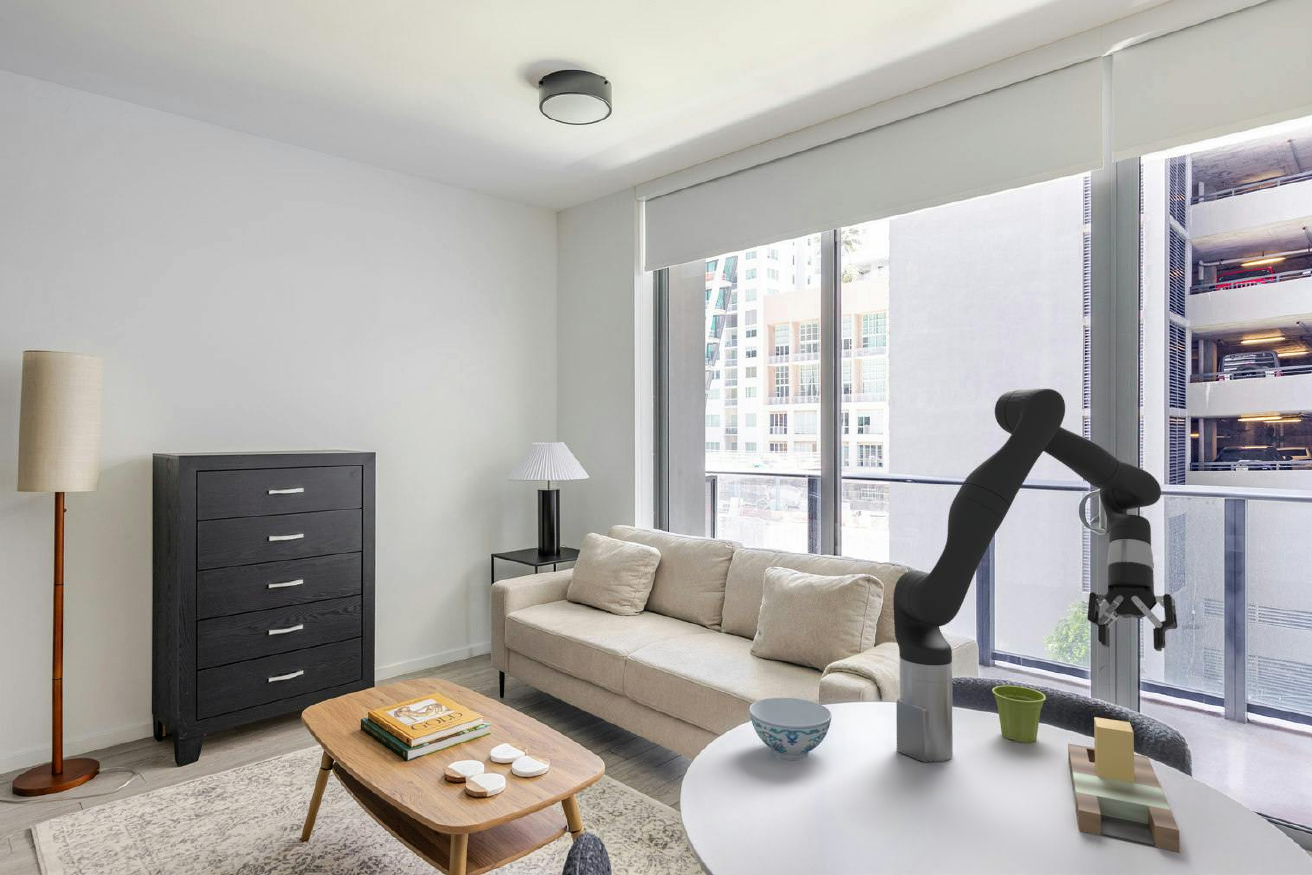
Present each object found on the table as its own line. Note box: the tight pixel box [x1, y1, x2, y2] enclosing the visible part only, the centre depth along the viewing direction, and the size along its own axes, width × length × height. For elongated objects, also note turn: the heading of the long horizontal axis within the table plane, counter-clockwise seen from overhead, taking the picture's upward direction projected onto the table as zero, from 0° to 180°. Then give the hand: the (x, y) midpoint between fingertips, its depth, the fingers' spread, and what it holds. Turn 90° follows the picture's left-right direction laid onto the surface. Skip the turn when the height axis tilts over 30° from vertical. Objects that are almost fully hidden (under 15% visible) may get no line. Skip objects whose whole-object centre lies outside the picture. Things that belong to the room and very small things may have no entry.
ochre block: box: [1093, 716, 1135, 783], centre depth 116 cm, size 5×5×8 cm
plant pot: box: [991, 685, 1047, 744], centre depth 139 cm, size 9×9×9 cm
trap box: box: [1067, 743, 1181, 853], centre depth 113 cm, size 28×12×3 cm, turn 152°
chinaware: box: [749, 696, 832, 761], centre depth 130 cm, size 15×15×8 cm
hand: (1131, 648), depth 133 cm, fingers open, 8 cm apart
